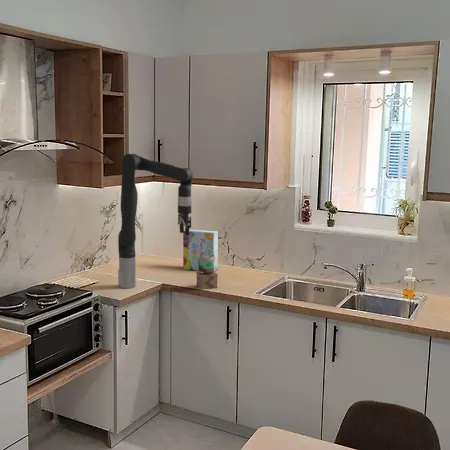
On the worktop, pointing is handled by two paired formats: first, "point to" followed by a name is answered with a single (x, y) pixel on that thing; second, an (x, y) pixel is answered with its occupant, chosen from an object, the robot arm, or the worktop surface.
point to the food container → (206, 265)
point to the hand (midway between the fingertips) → (184, 233)
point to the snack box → (199, 248)
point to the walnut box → (207, 281)
